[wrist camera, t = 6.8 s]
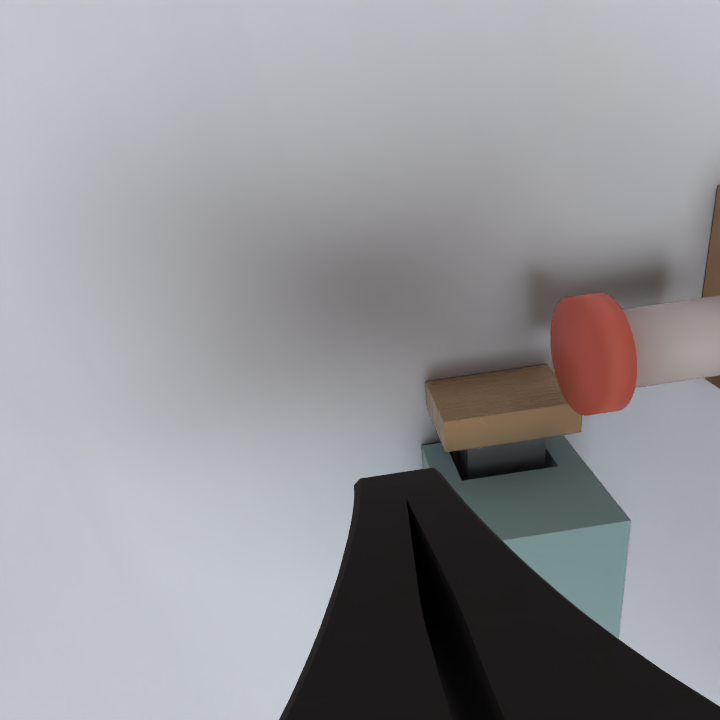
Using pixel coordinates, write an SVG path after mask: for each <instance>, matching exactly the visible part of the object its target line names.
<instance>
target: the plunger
mask: <svg viewBox="0 0 720 720" xmlns="http://www.w3.org/2000/svg"><path fill="white" fill-rule="evenodd" d="M551 354H552V361H553V366H554V370H555V374H556V378H557V381H558V384H559V387H560V389H561V391H562V394H563V396H564V397H565V399H566V401H567V402H568V404H569V405H570V407H571V408H572V409H573V410H574V411H575V412H577V413H578V414H580V415H584V416H586V415H592V414H599V413H606V412H613V411H619V410H622V409H623V408H625V407H626V406H627V405H628V403H629V402H630V400H631V398H632V396H633V393H634V390H635V388H637V387H644V386H651V385H657V384H664V383H671V382H678V381H685V380H691V379H698V378H705V377H712V376H719V375H720V295H719V296H712V297H705V298H698V299H691V300H684V301H677V302H670V303H663V304H656V305H649V306H642V307H635V308H627V309H621V307H620V306H619V304H618V303H617V302H616V301H615V300H614V299H613V298H612V297H611V296H609V295H608V294H606V293H602V292H599V293H591V294H584V295H577V296H570V297H565V298H563V299H562V300H560V302H559V303H558V304H557V306H556V308H555V311H554V314H553V318H552V323H551Z"/></svg>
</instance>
